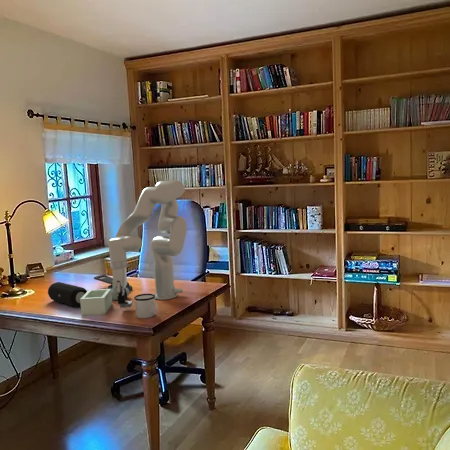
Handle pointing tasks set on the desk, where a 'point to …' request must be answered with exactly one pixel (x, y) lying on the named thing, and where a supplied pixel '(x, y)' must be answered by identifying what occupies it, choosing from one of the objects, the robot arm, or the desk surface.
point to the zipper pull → (110, 281)
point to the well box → (96, 302)
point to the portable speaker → (66, 293)
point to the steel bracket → (126, 302)
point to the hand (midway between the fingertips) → (122, 301)
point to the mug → (145, 305)
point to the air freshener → (114, 293)
